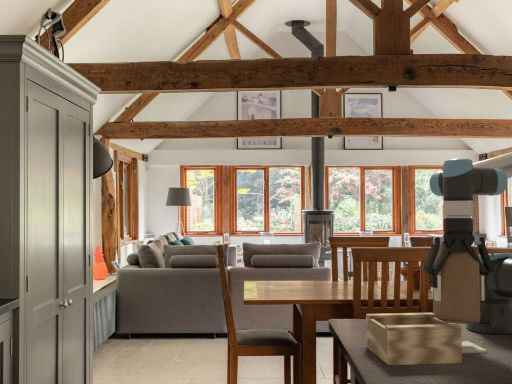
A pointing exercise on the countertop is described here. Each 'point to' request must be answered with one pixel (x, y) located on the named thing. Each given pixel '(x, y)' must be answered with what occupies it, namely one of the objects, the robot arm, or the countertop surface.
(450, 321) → the wooden block
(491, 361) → the countertop surface
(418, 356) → the crate
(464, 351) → the mat
